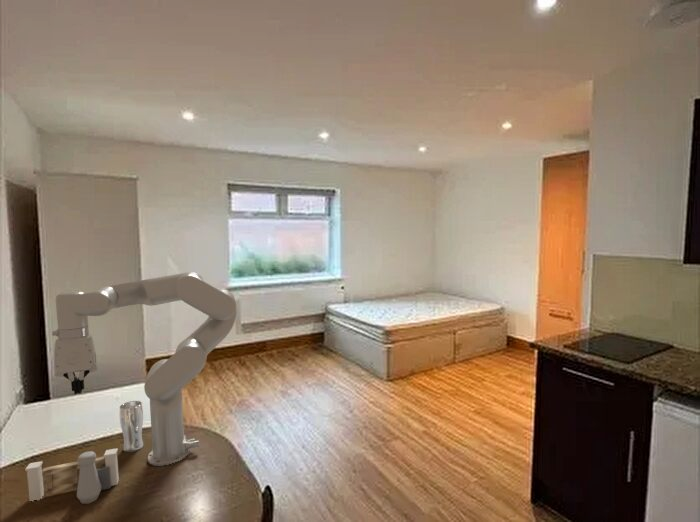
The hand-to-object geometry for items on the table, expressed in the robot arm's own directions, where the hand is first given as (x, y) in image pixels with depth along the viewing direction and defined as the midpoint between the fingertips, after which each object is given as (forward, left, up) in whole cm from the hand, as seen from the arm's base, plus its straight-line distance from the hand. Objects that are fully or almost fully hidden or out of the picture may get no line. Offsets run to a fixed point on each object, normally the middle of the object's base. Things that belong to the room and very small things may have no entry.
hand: (78, 392), depth 124 cm
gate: (-1, +10, -24) cm, 26 cm away
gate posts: (0, +11, -25) cm, 27 cm away
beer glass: (-12, -10, -25) cm, 30 cm away
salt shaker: (-5, +16, -25) cm, 30 cm away
